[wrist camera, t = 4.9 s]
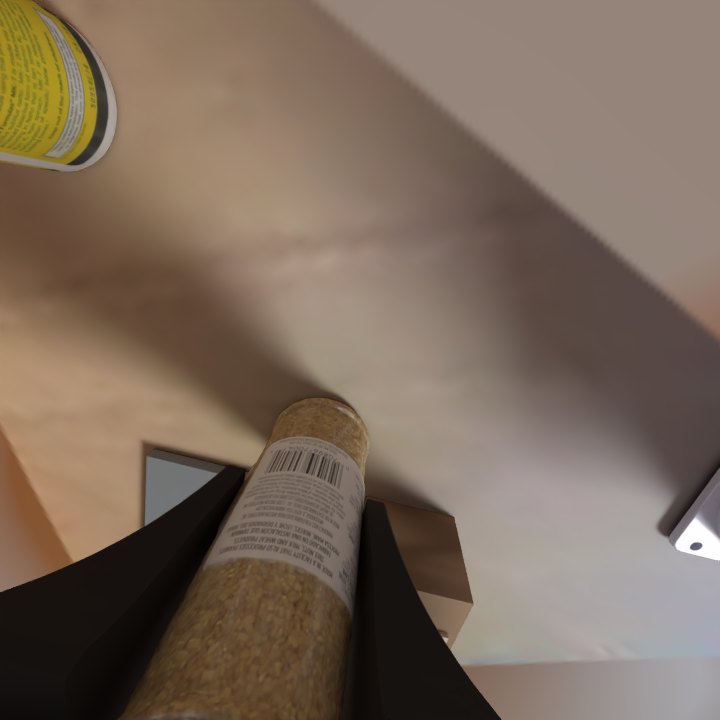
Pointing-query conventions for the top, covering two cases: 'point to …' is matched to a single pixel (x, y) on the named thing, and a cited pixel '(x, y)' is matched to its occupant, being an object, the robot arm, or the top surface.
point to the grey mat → (173, 480)
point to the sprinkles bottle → (272, 585)
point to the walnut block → (433, 564)
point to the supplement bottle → (51, 92)
